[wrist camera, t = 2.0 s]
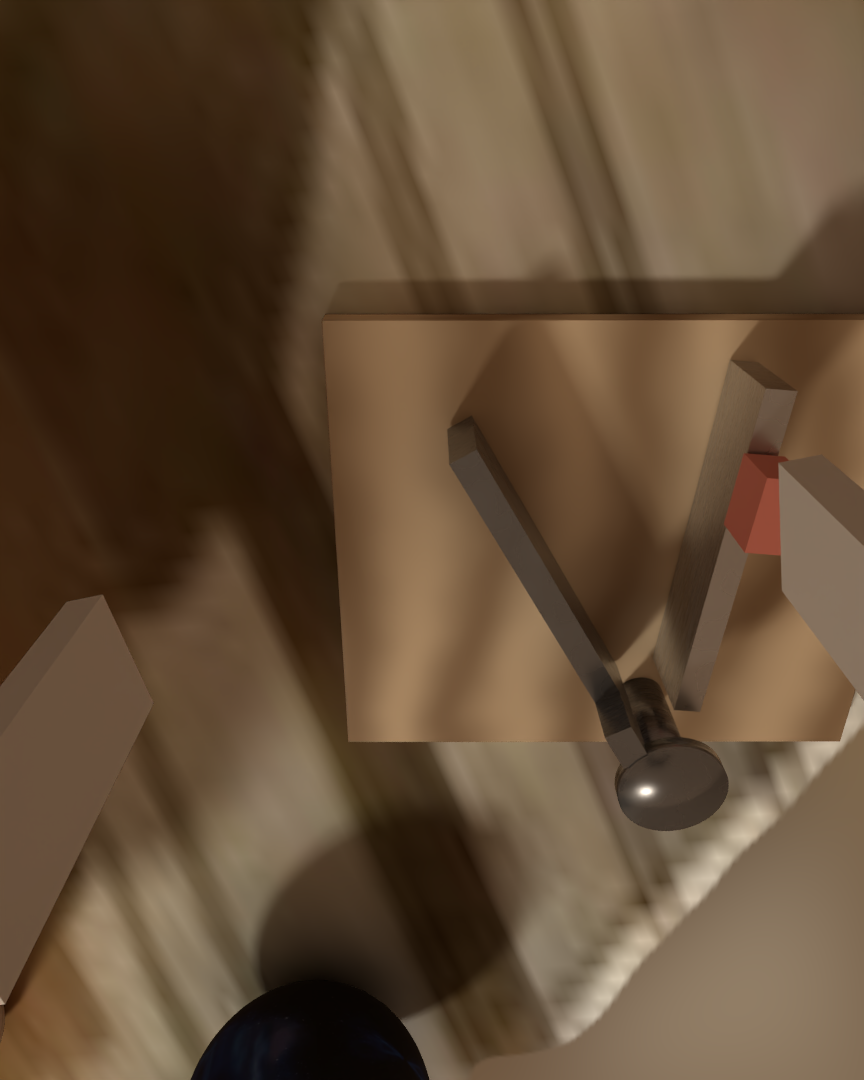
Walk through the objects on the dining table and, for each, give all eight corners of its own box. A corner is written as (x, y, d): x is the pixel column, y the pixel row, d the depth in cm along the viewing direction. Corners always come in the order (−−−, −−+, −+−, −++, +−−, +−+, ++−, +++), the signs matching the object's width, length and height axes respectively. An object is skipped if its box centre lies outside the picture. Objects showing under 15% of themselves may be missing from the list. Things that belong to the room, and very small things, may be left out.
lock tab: (763, 527, 32) (787, 555, 30) (723, 523, 32) (744, 552, 30) (785, 456, 31) (811, 481, 28) (743, 453, 30) (767, 478, 28)
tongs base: (659, 716, 42) (689, 793, 37) (611, 713, 42) (634, 790, 37) (757, 361, 33) (812, 402, 28) (696, 356, 33) (741, 396, 28)
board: (350, 726, 44) (348, 741, 43) (325, 314, 33) (322, 320, 32) (829, 726, 44) (839, 741, 43) (950, 313, 34) (967, 319, 32)
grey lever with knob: (701, 712, 41) (744, 806, 36) (615, 748, 43) (644, 844, 37) (525, 386, 33) (545, 440, 28) (426, 440, 35) (425, 503, 29)
